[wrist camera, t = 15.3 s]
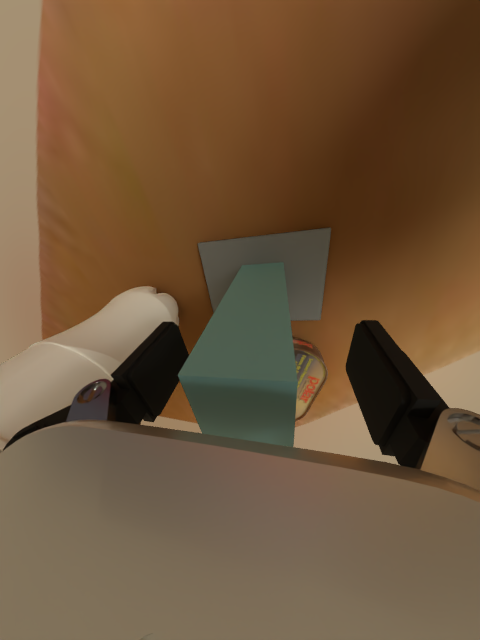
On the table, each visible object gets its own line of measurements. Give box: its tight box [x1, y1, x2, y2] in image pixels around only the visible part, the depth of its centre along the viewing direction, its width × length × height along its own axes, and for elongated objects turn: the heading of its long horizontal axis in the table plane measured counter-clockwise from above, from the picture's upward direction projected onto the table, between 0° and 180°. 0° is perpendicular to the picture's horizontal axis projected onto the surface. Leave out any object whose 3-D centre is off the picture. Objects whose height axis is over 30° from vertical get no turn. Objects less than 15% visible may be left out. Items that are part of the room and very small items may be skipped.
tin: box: [293, 338, 328, 421], centre depth 25 cm, size 15×3×8 cm
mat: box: [198, 227, 331, 321], centre depth 19 cm, size 12×9×1 cm
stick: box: [178, 262, 298, 447], centre depth 13 cm, size 4×4×14 cm
